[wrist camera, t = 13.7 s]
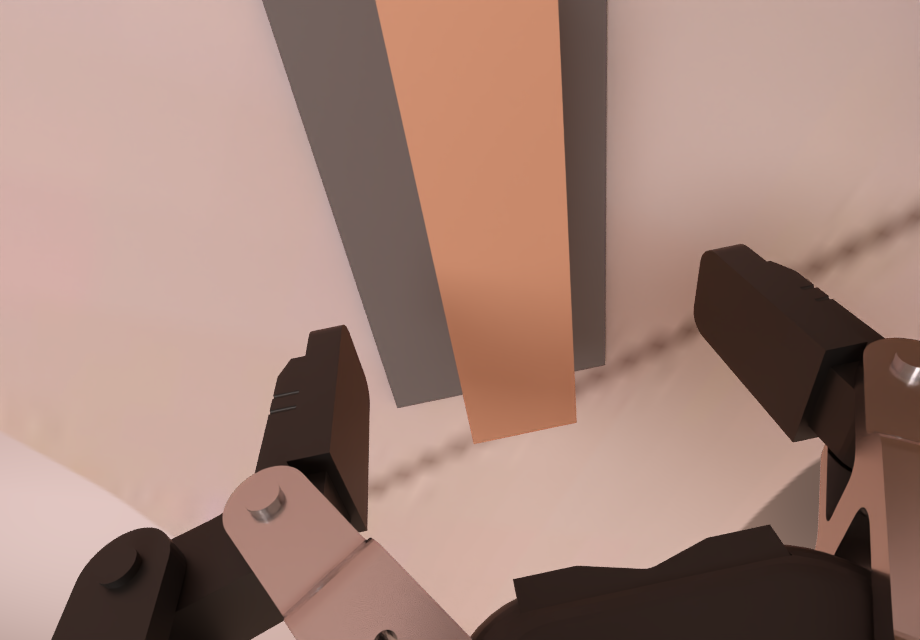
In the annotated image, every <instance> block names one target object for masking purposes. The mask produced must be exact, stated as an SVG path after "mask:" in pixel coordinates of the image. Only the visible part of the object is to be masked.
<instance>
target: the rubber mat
mask: <svg viewBox="0 0 920 640" xmlns="http://www.w3.org/2000/svg"><path fill="white" fill-rule="evenodd" d="M262 1H263V4H264V7H265V10H266V13H267V16H268V19H269V22H270V25H271V28H272V31H273V34H274V37H275V40H276V43H277V46H278V49H279V52H280V55H281V58H282V61H283V64H284V67H285V70H286V73H287V76H288V79H289V82H290V85H291V88H292V92H293V95H294V98H295V101H296V104H297V107H298V110H299V113H300V116H301V119H302V122H303V125H304V128H305V131H306V134H307V137H308V140H309V143H310V146H311V149H312V152H313V155H314V158H315V161H316V164H317V167H318V170H319V173H320V176H321V179H322V182H323V185H324V188H325V191H326V194H327V197H328V200H329V203H330V206H331V209H332V212H333V215H334V218H335V221H336V224H337V227H338V230H339V233H340V236H341V239H342V242H343V245H344V248H345V251H346V255H347V258H348V261H349V264H350V267H351V270H352V273H353V276H354V279H355V282H356V285H357V288H358V291H359V294H360V297H361V300H362V303H363V306H364V309H365V312H366V315H367V318H368V321H369V324H370V327H371V330H372V333H373V336H374V339H375V342H376V345H377V348H378V351H379V354H380V357H381V360H382V363H383V366H384V369H385V372H386V375H387V378H388V381H389V384H390V387H391V390H392V393H393V396H394V399H395V402H396V405H397V408H401V407H406V406H410V405H415V404H420V403H425V402H430V401H434V400H439V399H444V398H449V397H454V396H459V395H463V393H462V388H461V384H460V379H459V375H458V370H457V366H456V361H455V357H454V352H453V348H452V343H451V339H450V334H449V330H448V325H447V321H446V316H445V312H444V307H443V303H442V298H441V294H440V289H439V285H438V280H437V276H436V271H435V267H434V262H433V258H432V253H431V249H430V244H429V240H428V235H427V231H426V226H425V222H424V217H423V213H422V208H421V204H420V199H419V195H418V190H417V186H416V181H415V177H414V172H413V168H412V163H411V159H410V154H409V150H408V145H407V141H406V136H405V132H404V127H403V123H402V118H401V114H400V109H399V105H398V100H397V96H396V91H395V87H394V82H393V78H392V73H391V69H390V64H389V60H388V55H387V51H386V46H385V42H384V37H383V33H382V28H381V24H380V19H379V15H378V10H377V6H376V1H375V0H262ZM558 10H559V33H560V56H561V79H562V102H563V124H564V147H565V170H566V193H567V216H568V239H569V261H570V284H571V307H572V330H573V353H574V371H579V370H584V369H589V368H594V367H598V366H603V365H605V287H606V78H607V0H558Z"/></svg>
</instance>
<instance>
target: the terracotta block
mask: <svg viewBox="0 0 920 640" xmlns="http://www.w3.org/2000/svg"><path fill="white" fill-rule="evenodd" d="M375 1H376V6H377V10H378V15H379V19H380V24H381V28H382V33H383V37H384V42H385V46H386V51H387V55H388V60H389V64H390V69H391V73H392V78H393V82H394V87H395V91H396V96H397V100H398V105H399V109H400V114H401V118H402V123H403V127H404V132H405V136H406V141H407V145H408V150H409V154H410V159H411V163H412V168H413V172H414V177H415V181H416V186H417V190H418V195H419V199H420V204H421V208H422V213H423V217H424V222H425V226H426V231H427V235H428V240H429V244H430V249H431V253H432V258H433V262H434V267H435V271H436V276H437V280H438V285H439V289H440V294H441V298H442V303H443V307H444V312H445V316H446V321H447V325H448V330H449V334H450V339H451V343H452V348H453V352H454V357H455V361H456V366H457V370H458V375H459V379H460V384H461V388H462V393H463V397H464V402H465V406H466V411H467V415H468V420H469V424H470V429H471V433H472V438H473V442H474V444H477V443H481V442H486V441H491V440H496V439H500V438H505V437H510V436H515V435H520V434H524V433H529V432H534V431H539V430H544V429H548V428H553V427H558V426H563V425H567V424H572V423H577V421H576V398H575V376H574V353H573V330H572V307H571V284H570V261H569V239H568V216H567V193H566V170H565V147H564V124H563V102H562V79H561V56H560V33H559V10H558V0H375Z"/></svg>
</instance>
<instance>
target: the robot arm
mask: <svg viewBox="0 0 920 640" xmlns="http://www.w3.org/2000/svg"><path fill="white" fill-rule="evenodd" d="M694 318H695V322H696V325H697V328H698V330H699V332H700V333H701V335H702V336H703V337H704V338H705V340H706V341H707V342H708V343H709V344H710V346H711V347H712V348H713V349H714V350H715V351H716V353H717V354H718V355H719V356H720V357H721V358H722V360H723V361H724V362H725V363H726V364H727V365H728V367H729V368H730V369H731V370H732V371H733V372H734V374H735V375H736V376H737V377H738V378H739V380H740V381H741V382H742V383H743V384H744V385H745V387H746V388H747V389H748V390H749V391H750V392H751V394H752V395H753V396H754V397H755V398H756V399H757V401H758V402H759V403H760V404H761V405H762V407H763V408H764V409H765V410H766V411H767V412H768V414H769V415H770V416H771V417H772V418H773V419H774V421H775V422H776V423H777V424H778V425H779V426H780V428H781V429H782V430H783V431H784V432H785V434H786V435H787V436H788V437H789V438H790V439H791V441H792V442H797V441H802V440H807V439H812V438H816V437H819V438H820V439H821V440H822V441H823V442H824V443H825V446H824V449H823V451H822V454H821V467H820V493H819V520H818V536H817V542H816V546H815V550H814V549H810V548H805V547H799V546H792V545H783V543H782V542H781V540H780V539H779V537H778V536H777V534H776V533H775V531H774V530H773V529H772V527H771V526H770V525H766V526H761V527H756V528H752V529H747V530H742V531H737V532H733V533H728V534H723V535H719V536H714V537H709V538H706V539H704V540H702V541H701V542H699V543H697V544H695V545H693V546H691V547H690V548H688V549H686V550H684V551H682V552H680V553H679V554H677V555H675V556H673V557H671V558H669V559H668V560H666V561H664V562H662V563H660V564H658V565H657V566H654V567H652V568H648V569H633V568H612V567H591V566H573V567H569V568H564V569H559V570H555V571H550V572H545V573H541V574H536V575H531V576H526V577H522V578H517V579H513V581H514V587H515V592H516V597H517V598H516V599H515V600H513V601H511V602H509V603H507V604H505V605H504V606H502V607H501V608H500V609H498V610H497V611H496V612H494V613H493V614H491V615H490V616H489V617H488V618H487V619H486V620H485V621H484V622H483V623H482V624H481V625H480V626H479V627H478V628H477V629H476V630H475V632H474V633H473V634H472V635H471V637H470V636H469V635H468V634H467V633H466V632H465V631H464V630H463V629H462V628H461V627H460V626H459V625H458V624H457V623H456V622H455V621H454V620H453V619H452V618H451V617H450V616H449V615H448V614H447V613H446V612H445V611H444V610H443V609H442V608H441V606H440V605H439V604H438V603H437V602H436V601H435V600H434V599H433V598H432V597H431V596H430V595H429V594H428V593H427V592H426V591H425V590H424V589H423V588H422V587H421V586H420V585H419V584H418V583H417V582H416V581H415V580H414V579H413V578H412V577H411V575H410V574H409V573H408V572H407V571H406V570H405V569H404V568H403V567H402V566H401V565H400V564H399V563H398V562H397V561H396V560H395V559H394V558H393V557H392V556H391V555H390V554H389V553H388V552H387V551H386V550H385V549H384V548H383V547H382V546H381V545H380V544H379V543H378V542H377V541H375V540H374V539H372V538H369V539H368V540H366V539H365V538H364V537H362V536H361V535H360V534H359V532H363V531H367V516H368V463H369V411H370V400H369V391H368V385H367V381H366V377H365V374H364V372H363V369H362V366H361V363H360V361H359V358H358V355H357V353H356V350H355V347H354V344H353V342H352V339H351V336H350V333H349V331H348V329H347V327H346V326H345V325H340V326H335V327H331V328H326V329H321V330H316V331H311V332H310V334H309V339H308V344H307V350H306V355H305V356H303V357H298V358H293V359H291V360H290V361H289V362H288V364H287V365H286V366H285V368H284V369H283V371H282V372H281V373H280V375H279V376H278V378H277V382H276V387H275V391H274V395H273V396H274V399H272V403H271V408H270V415H269V416H268V420H267V424H266V429H265V433H264V437H263V441H262V445H261V450H260V454H259V458H258V462H257V466H256V470H255V474H253V475H252V476H250V477H249V478H247V479H246V480H245V481H243V482H242V483H241V484H240V485H239V486H238V487H237V488H236V489H235V490H234V492H233V493H232V494H231V496H230V497H229V499H228V501H227V503H226V505H225V508H224V511H223V513H222V514H221V515H219V516H217V517H215V518H214V519H212V520H210V521H208V522H206V523H204V524H202V525H200V526H198V527H196V528H194V529H192V530H190V531H188V532H185V533H183V534H181V535H179V536H177V537H175V538H173V539H170V538H169V537H168V536H167V535H166V534H165V533H164V532H163V531H161V530H159V529H156V528H140V529H136V530H133V531H130V532H128V533H125V534H123V535H121V536H119V537H118V538H116V539H114V540H113V541H111V542H110V543H109V544H107V545H106V546H105V547H103V548H102V549H101V550H100V551H99V552H98V553H97V554H96V555H95V556H94V557H93V558H92V559H91V560H90V561H89V563H88V564H87V565H86V566H85V568H84V569H83V570H82V572H81V574H80V575H79V577H78V579H77V581H76V584H75V586H74V588H73V590H72V593H71V595H70V597H69V600H68V602H67V604H66V607H65V609H64V612H63V614H62V616H61V619H60V621H59V623H58V625H57V628H56V630H55V633H54V635H53V637H52V640H251V639H252V638H254V637H256V636H258V635H259V634H261V633H263V632H265V631H266V630H268V629H270V628H272V627H273V626H275V625H277V624H279V623H280V622H282V621H284V622H285V623H286V625H287V626H288V628H289V630H290V631H291V633H292V634H293V635H294V637H295V638H296V640H920V341H918V340H913V339H905V338H886V339H885V338H884V337H882V336H881V335H880V334H878V333H877V332H876V331H874V330H873V329H872V328H870V327H869V326H868V325H866V324H865V323H864V322H862V321H861V320H860V319H858V318H857V317H856V316H854V315H853V314H852V313H850V312H849V311H848V310H846V309H845V308H844V307H843V306H841V305H840V304H839V303H837V302H836V301H835V300H833V299H829V296H828V295H827V294H825V293H824V292H823V291H821V290H820V289H819V288H814V285H813V284H812V283H811V282H809V281H808V280H807V279H805V278H804V277H803V276H802V275H800V274H799V273H798V272H796V271H794V270H792V269H789V268H787V267H784V266H782V265H779V264H777V263H774V262H772V261H768V262H766V261H765V260H764V259H763V258H761V257H760V256H759V255H758V254H756V253H755V252H754V251H753V250H751V249H750V248H749V247H747V246H746V245H743V244H738V245H733V246H729V247H724V248H719V249H714V250H709V251H706V252H705V253H704V254H703V255H702V258H701V262H700V268H699V275H698V282H697V289H696V296H695V303H694Z"/></svg>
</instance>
